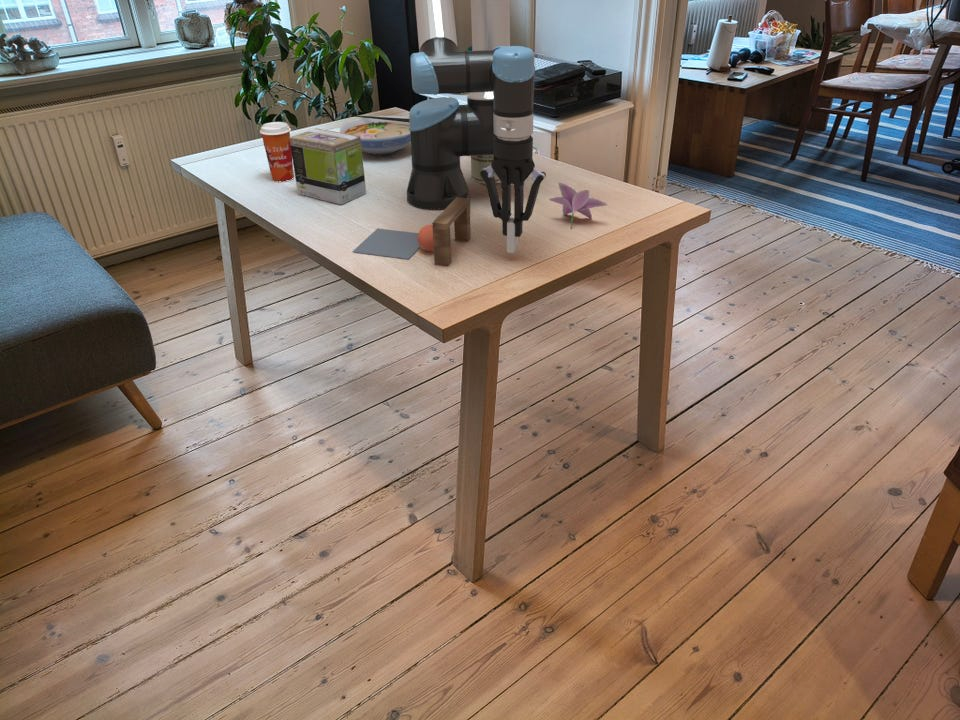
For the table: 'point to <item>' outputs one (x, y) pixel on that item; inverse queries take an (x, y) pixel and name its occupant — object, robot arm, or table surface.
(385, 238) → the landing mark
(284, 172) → the paper cup
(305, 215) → the table surface
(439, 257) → the bridge
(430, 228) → the ball
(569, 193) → the lily
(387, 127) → the ramen bowl
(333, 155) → the tea box
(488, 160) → the coffee can
